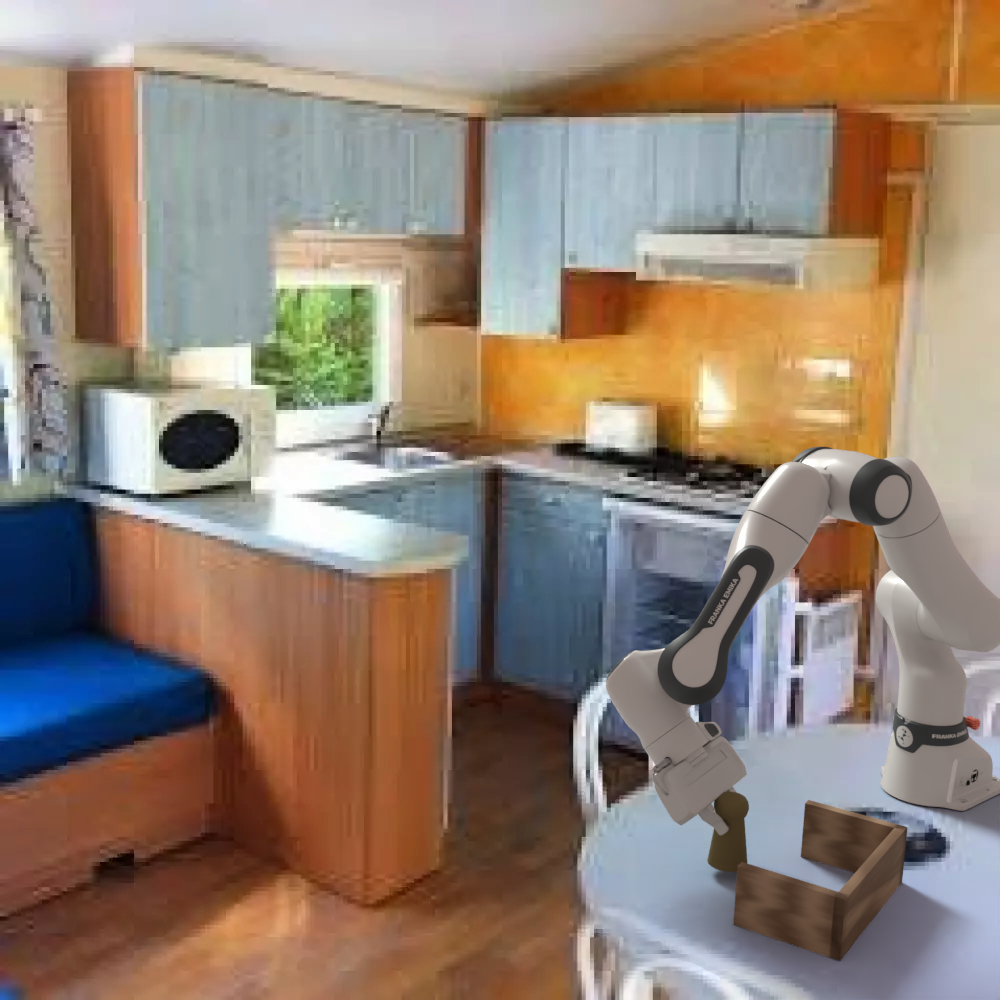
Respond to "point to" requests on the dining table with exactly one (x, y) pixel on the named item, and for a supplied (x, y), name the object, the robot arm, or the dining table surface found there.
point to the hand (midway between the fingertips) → (733, 825)
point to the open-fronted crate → (814, 909)
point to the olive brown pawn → (729, 833)
